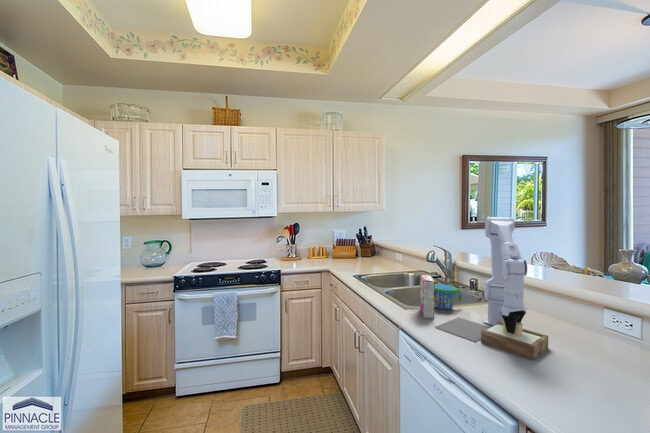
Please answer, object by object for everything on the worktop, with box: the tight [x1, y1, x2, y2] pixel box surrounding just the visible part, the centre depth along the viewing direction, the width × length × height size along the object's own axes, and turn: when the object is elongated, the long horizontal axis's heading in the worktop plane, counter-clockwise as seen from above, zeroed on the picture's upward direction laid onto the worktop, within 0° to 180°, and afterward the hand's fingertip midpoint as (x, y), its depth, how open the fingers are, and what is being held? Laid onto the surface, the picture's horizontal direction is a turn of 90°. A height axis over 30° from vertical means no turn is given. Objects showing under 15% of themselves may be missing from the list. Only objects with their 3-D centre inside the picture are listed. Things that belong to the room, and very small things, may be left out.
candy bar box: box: [419, 274, 436, 319], centre depth 134 cm, size 11×5×16 cm, turn 168°
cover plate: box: [487, 321, 540, 344], centre depth 105 cm, size 10×14×5 cm
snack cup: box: [434, 283, 463, 311], centre depth 143 cm, size 16×10×10 cm
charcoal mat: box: [434, 316, 492, 343], centre depth 118 cm, size 18×16×1 cm
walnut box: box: [480, 321, 549, 361], centre depth 105 cm, size 14×16×4 cm
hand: (512, 331), depth 105 cm, fingers closed on cover plate, 3 cm apart
